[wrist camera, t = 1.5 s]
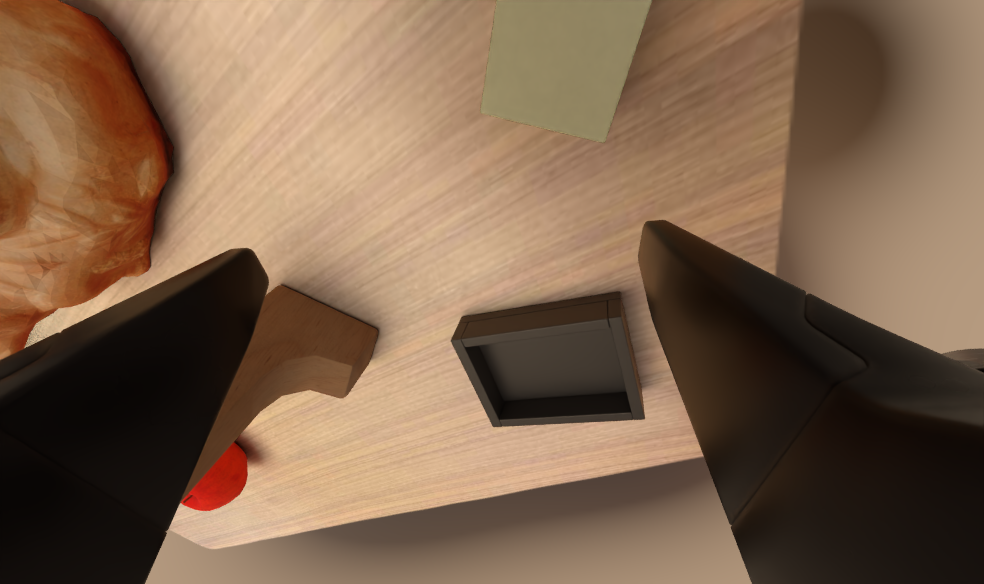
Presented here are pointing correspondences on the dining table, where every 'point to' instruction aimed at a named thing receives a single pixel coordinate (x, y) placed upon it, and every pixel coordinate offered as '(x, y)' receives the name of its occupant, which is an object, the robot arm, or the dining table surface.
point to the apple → (220, 482)
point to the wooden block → (289, 364)
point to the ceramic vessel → (70, 164)
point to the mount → (552, 362)
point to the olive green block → (561, 62)
